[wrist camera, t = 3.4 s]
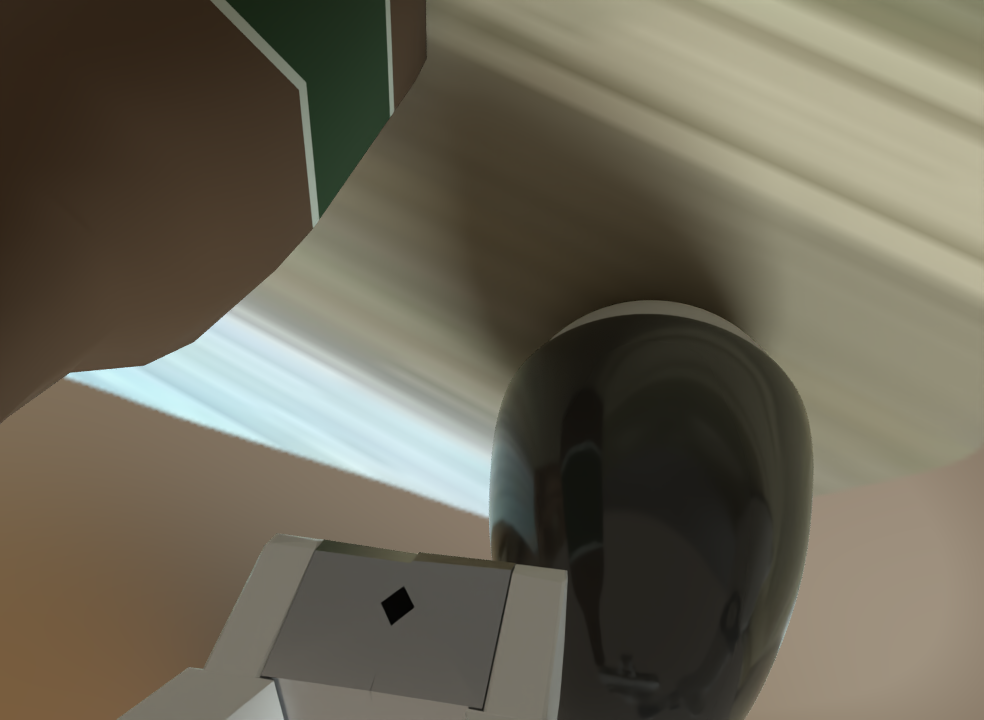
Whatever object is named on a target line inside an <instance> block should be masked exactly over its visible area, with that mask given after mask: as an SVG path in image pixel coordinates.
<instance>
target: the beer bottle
mask: <svg viewBox="0 0 984 720" xmlns="http://www.w3.org/2000/svg"><path fill="white" fill-rule="evenodd" d="M426 58H427V54H426V0H0V424H1V423H2V422H3V421H4V420H5V419H6V418H7V417H9V416H10V415H12V414H13V413H14V412H16V411H17V410H18V409H20V408H21V407H23V406H24V405H25V404H27V403H28V402H30V401H31V400H32V399H34V398H35V397H37V396H38V395H39V394H41V393H42V392H43V391H45V390H46V389H48V388H49V387H51V386H52V385H53V384H55V383H56V382H58V381H59V380H60V379H62V378H63V377H64V376H66V375H67V374H69V373H71V372H81V371H92V370H102V369H113V368H124V367H134V366H144V365H146V364H149V363H151V362H153V361H155V360H157V359H159V358H161V357H163V356H165V355H167V354H170V353H172V352H174V351H176V350H178V349H180V348H182V347H184V346H186V345H188V344H191V343H193V342H194V341H195V340H197V339H198V338H199V337H200V336H201V335H202V334H203V333H205V332H206V331H207V330H208V329H209V328H210V327H211V326H213V325H214V324H215V323H216V322H217V321H218V320H219V319H220V318H222V317H223V316H224V315H225V314H226V313H227V312H228V311H230V310H231V309H232V308H233V307H234V306H235V305H236V304H238V303H239V302H240V301H241V300H242V299H243V298H244V297H245V296H247V295H248V294H249V293H250V292H251V291H252V290H253V289H255V288H256V287H257V286H258V285H259V284H260V283H261V282H263V281H264V280H265V279H266V278H267V277H268V276H269V275H270V274H272V273H273V272H274V271H275V270H276V269H277V268H278V267H279V266H280V265H281V263H282V262H283V261H284V260H285V259H286V258H287V257H288V256H289V255H290V253H291V252H292V251H293V250H294V249H295V248H296V247H297V246H298V245H299V244H300V242H301V241H302V240H303V239H304V238H305V237H306V236H307V235H308V234H309V233H310V231H311V230H312V229H313V228H314V226H315V225H316V224H317V222H318V221H319V219H320V218H321V216H322V215H323V213H324V212H325V211H326V209H327V208H328V206H329V205H330V203H331V202H332V200H333V199H334V198H335V196H336V195H337V193H338V192H339V190H340V189H341V187H342V186H343V185H344V183H345V182H346V180H347V179H348V177H349V176H350V174H351V173H352V172H353V170H354V169H355V167H356V166H357V164H358V163H359V161H360V160H361V159H362V157H363V156H364V154H365V153H366V151H367V150H368V148H369V147H370V146H371V144H372V143H373V141H374V140H375V138H376V137H377V135H378V134H379V133H380V131H381V130H382V128H383V127H384V125H385V124H386V122H387V121H388V120H389V118H390V117H391V115H392V114H393V112H394V111H395V109H396V108H397V107H398V105H399V104H400V102H401V101H402V99H403V98H404V96H405V95H406V93H407V92H408V91H409V89H410V88H411V86H412V85H413V83H414V82H415V80H416V78H417V76H418V74H419V72H420V70H421V68H422V66H423V64H424V62H425V60H426Z"/></svg>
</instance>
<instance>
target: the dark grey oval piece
mask: <svg viewBox="0 0 984 720" xmlns="http://www.w3.org/2000/svg"><path fill="white" fill-rule="evenodd" d="M813 472H814V464H813V446H812V437H811V431H810V425H809V420H808V416H807V413H806V409H805V406H804V404H803V401H802V399H801V397H800V395H799V393H798V391H797V389H796V388H795V386H794V384H793V383H792V381H791V380H790V378H789V377H788V376H787V375H786V373H785V372H784V371H783V370H782V369H781V367H780V366H779V365H778V364H777V363H776V362H775V361H774V360H772V359H771V358H770V357H769V356H768V355H767V354H766V353H765V352H764V351H763V349H762V348H761V347H760V346H759V345H758V344H757V343H756V342H755V341H754V340H753V339H752V338H751V337H749V336H748V335H747V334H746V333H744V332H743V331H742V330H741V329H739V328H738V327H736V326H735V325H733V324H732V323H730V322H729V321H727V320H725V319H723V318H721V317H719V316H717V315H715V314H713V313H711V312H708V311H706V310H704V309H701V308H697V307H694V306H691V305H687V304H682V303H678V302H670V301H659V300H642V301H631V302H624V303H619V304H615V305H611V306H608V307H604V308H601V309H599V310H596V311H594V312H591V313H589V314H587V315H585V316H583V317H581V318H579V319H577V320H576V321H574V322H573V323H571V324H569V325H568V326H566V327H565V328H564V329H562V330H561V331H560V332H559V333H557V334H556V335H555V336H554V337H553V338H552V339H551V340H550V341H549V342H547V343H546V344H544V345H543V346H542V347H540V348H539V349H538V350H537V351H535V352H534V353H533V354H532V355H531V356H530V357H529V358H528V359H527V360H526V361H525V362H524V363H523V365H522V366H521V367H520V368H519V370H518V371H517V372H516V374H515V375H514V377H513V378H512V380H511V382H510V384H509V386H508V388H507V390H506V392H505V395H504V397H503V400H502V403H501V407H500V410H499V414H498V418H497V422H496V427H495V433H494V439H493V447H492V458H491V471H490V488H489V529H490V544H491V554H492V561H501V562H510V563H516V564H519V565H527V566H535V567H543V568H551V569H559V570H566V571H567V574H568V583H567V602H566V621H565V640H564V653H563V666H562V678H561V690H560V700H559V708H558V715H557V720H744V719H745V718H746V716H747V715H748V713H749V711H750V710H751V708H752V706H753V705H754V703H755V701H756V699H757V697H758V695H759V693H760V691H761V689H762V687H763V685H764V683H765V681H766V679H767V677H768V674H769V672H770V670H771V668H772V665H773V663H774V661H775V658H776V656H777V653H778V651H779V649H780V646H781V644H782V641H783V638H784V636H785V632H786V630H787V627H788V624H789V621H790V618H791V615H792V612H793V609H794V605H795V602H796V598H797V595H798V591H799V587H800V583H801V579H802V574H803V570H804V565H805V559H806V554H807V548H808V541H809V532H810V524H811V513H812V497H813Z"/></svg>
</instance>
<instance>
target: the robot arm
mask: <svg viewBox="0 0 984 720" xmlns="http://www.w3.org/2000/svg"><path fill="white" fill-rule="evenodd" d="M567 583H568V574H567V571H566V570H559V569H551V568H543V567H535V566H527V565H519V564H516V563H510V562H501V561H492V560H482V559H474V558H465V557H456V556H447V555H439V554H429V553H421V552H419V553H418V554H415V553H408V552H402V551H395V550H389V549H382V548H376V547H369V546H362V545H356V544H349V543H343V542H336V541H330V540H321V539H314V538H307V537H300V536H292V535H285V534H276V535H275V536H274V537H273V538H272V539H271V540H270V541H269V542H268V543H267V544H266V545H265V546H264V548H263V550H262V552H261V554H260V556H259V558H258V560H257V562H256V564H255V566H254V568H253V570H252V572H251V574H250V576H249V578H248V580H247V582H246V584H245V586H244V588H243V590H242V592H241V594H240V596H239V598H238V600H237V602H236V604H235V606H234V608H233V610H232V612H231V614H230V616H229V618H228V620H227V622H226V624H225V626H224V628H223V630H222V632H221V634H220V636H219V638H218V640H217V642H216V644H215V646H214V648H213V650H212V652H211V654H210V656H209V658H208V660H207V662H206V664H205V666H204V668H203V669H198V668H187V669H186V670H184V671H183V672H182V673H180V674H179V675H177V676H176V677H175V678H173V679H172V680H171V681H169V682H168V683H166V684H165V685H164V686H162V687H161V688H159V689H158V690H157V691H155V692H154V693H153V694H151V695H150V696H148V697H147V698H146V699H144V700H143V701H142V702H140V703H139V704H137V705H136V706H135V707H133V708H132V709H130V710H129V711H128V712H126V713H125V714H124V715H122V716H121V717H119V718H118V719H117V720H557V715H558V708H559V700H560V690H561V678H562V666H563V653H564V640H565V621H566V602H567Z"/></svg>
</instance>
